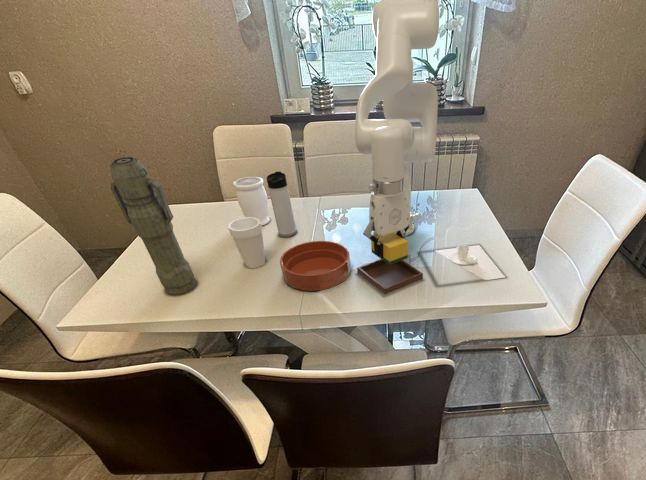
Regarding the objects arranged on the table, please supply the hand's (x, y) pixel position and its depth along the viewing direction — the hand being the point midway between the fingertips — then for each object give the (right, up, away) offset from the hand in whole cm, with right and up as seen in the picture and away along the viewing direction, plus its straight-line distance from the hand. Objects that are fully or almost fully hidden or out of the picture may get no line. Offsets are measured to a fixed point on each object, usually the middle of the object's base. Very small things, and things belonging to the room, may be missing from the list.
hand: (389, 251), depth 104 cm
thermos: (-61, -9, +7) cm, 62 cm away
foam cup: (-42, 0, +16) cm, 45 cm away
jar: (-48, +21, +39) cm, 65 cm away
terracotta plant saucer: (-21, -4, +9) cm, 23 cm away
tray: (0, -6, +6) cm, 8 cm away
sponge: (0, -1, +1) cm, 1 cm away
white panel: (+22, -2, +9) cm, 24 cm away
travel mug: (-35, +14, +30) cm, 48 cm away
